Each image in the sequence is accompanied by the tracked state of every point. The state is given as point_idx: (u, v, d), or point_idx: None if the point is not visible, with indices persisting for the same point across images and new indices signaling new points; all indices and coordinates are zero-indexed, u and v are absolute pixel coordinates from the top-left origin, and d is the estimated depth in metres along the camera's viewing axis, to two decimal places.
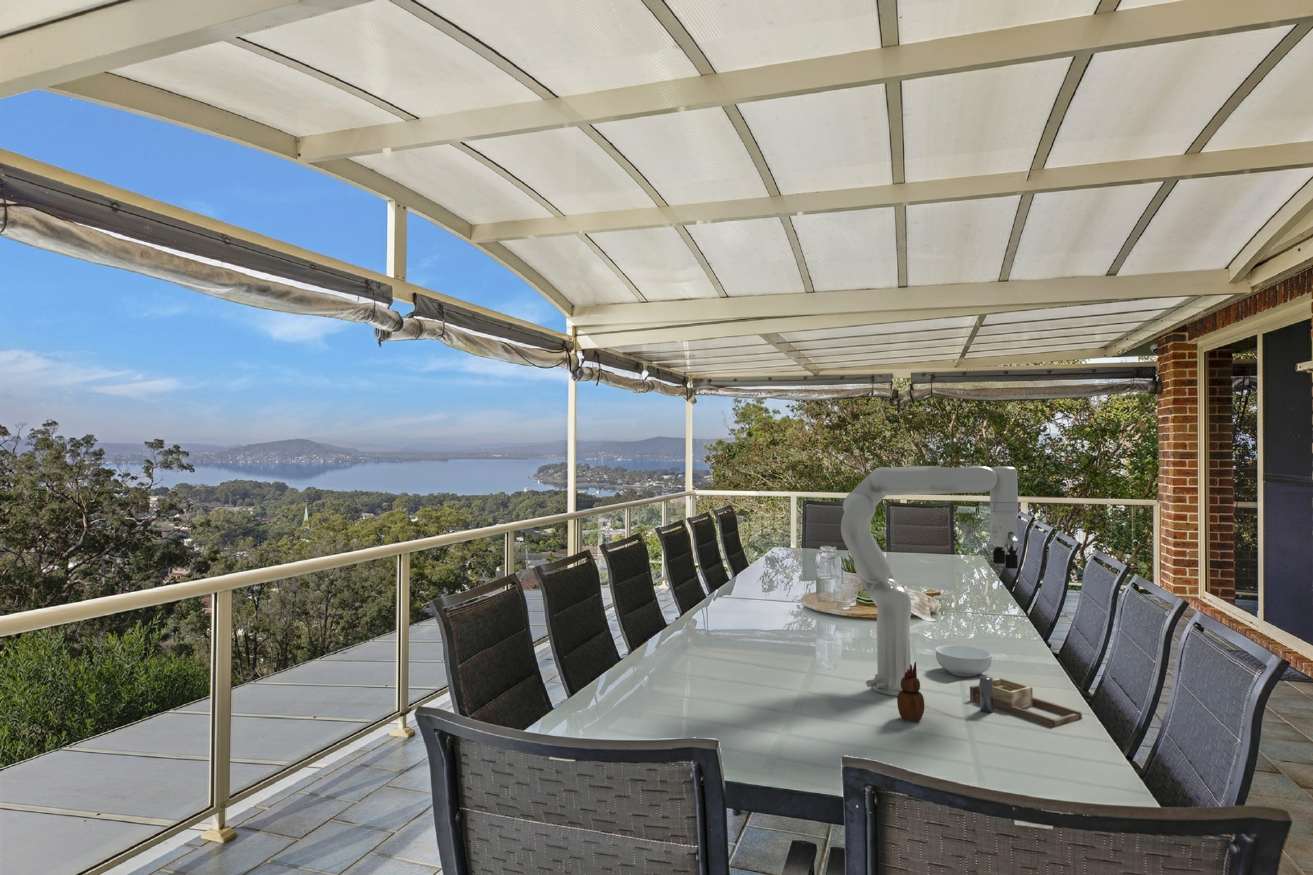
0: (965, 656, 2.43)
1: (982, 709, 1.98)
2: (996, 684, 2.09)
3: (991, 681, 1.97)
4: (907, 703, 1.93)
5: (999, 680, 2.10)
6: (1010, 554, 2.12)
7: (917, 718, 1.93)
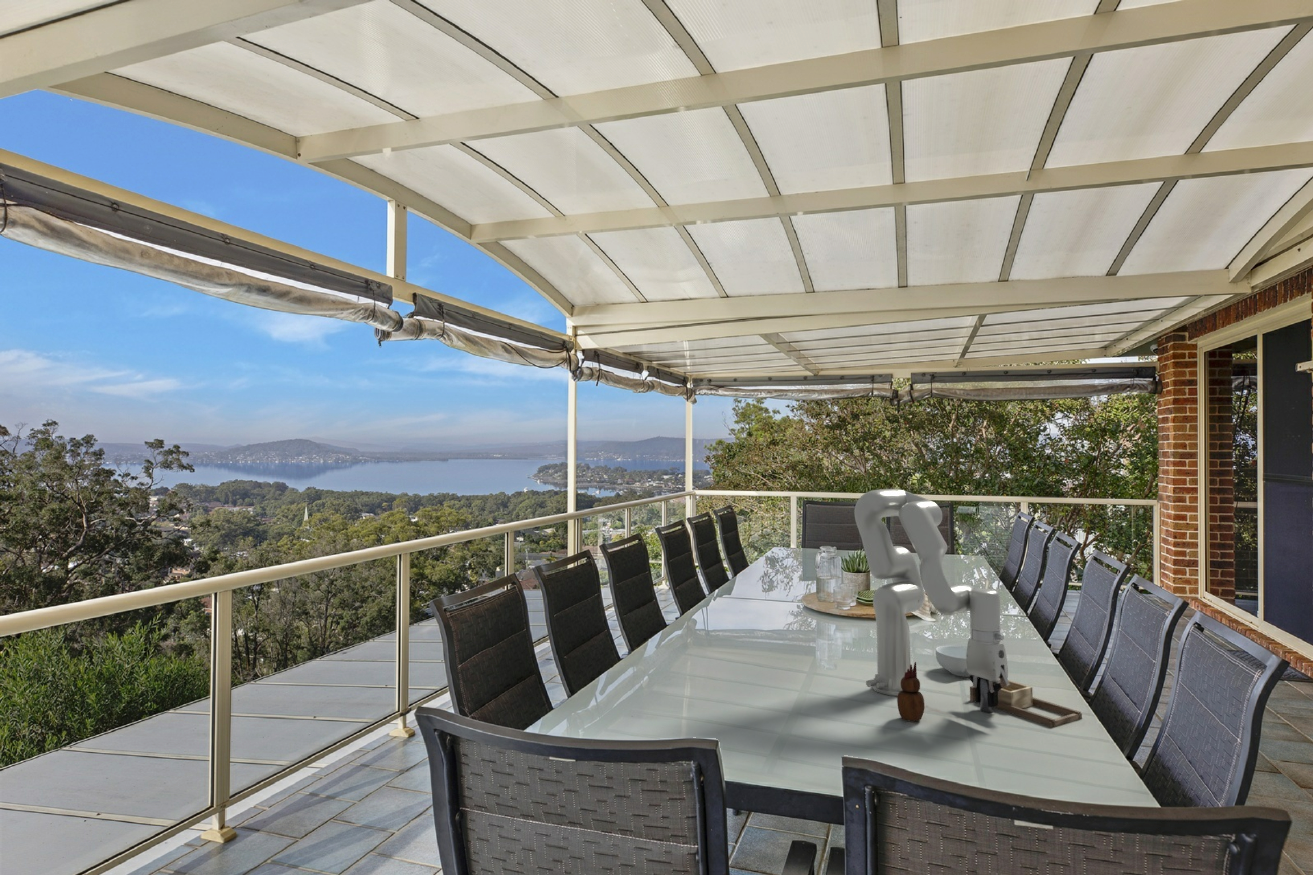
0: (965, 656, 2.43)
1: (982, 709, 1.98)
2: None
3: None
4: (907, 703, 1.93)
5: (999, 680, 2.10)
6: None
7: (917, 718, 1.93)
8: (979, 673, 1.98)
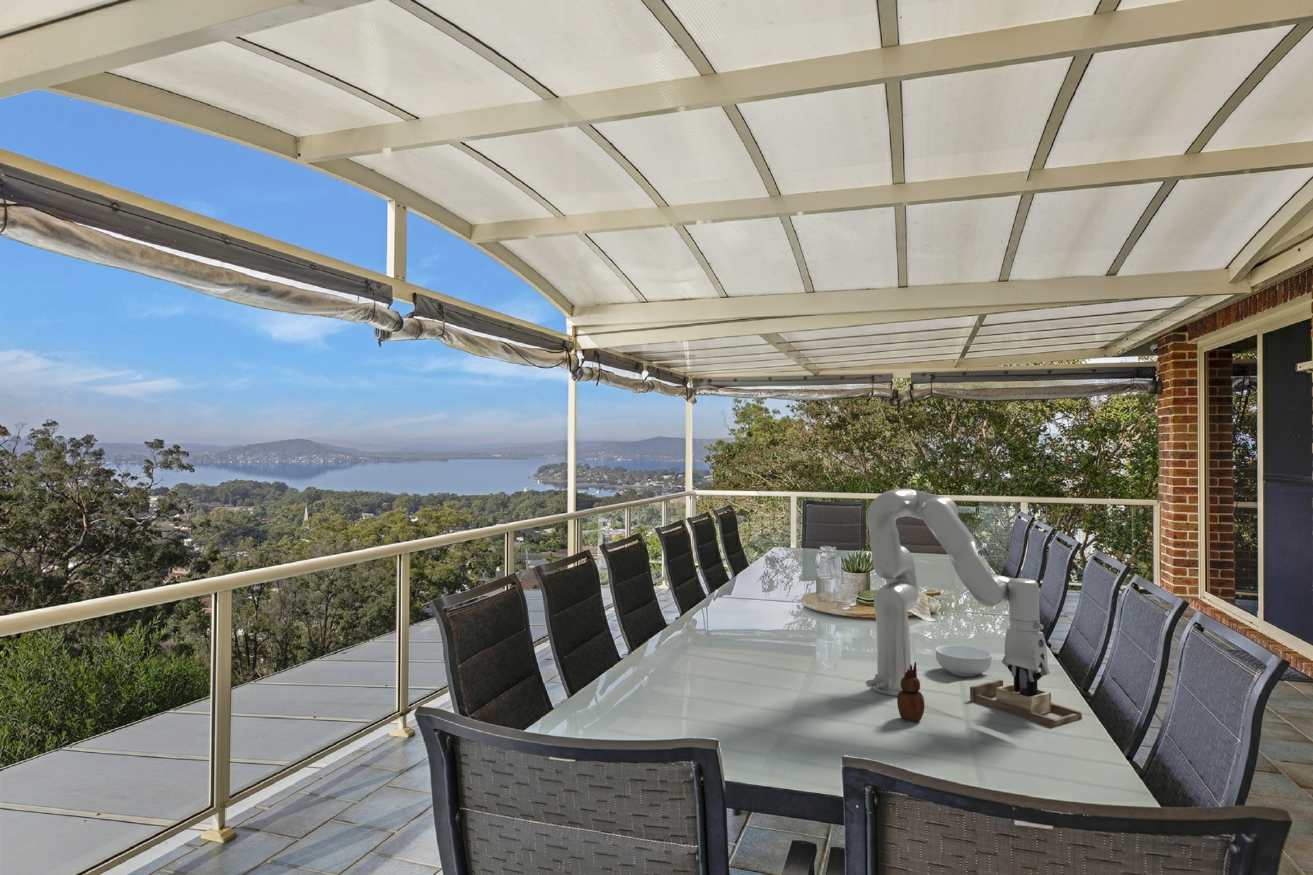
0: (965, 656, 2.43)
1: None
2: (1013, 689, 2.04)
3: None
4: (907, 703, 1.93)
5: None
6: None
7: (917, 718, 1.93)
8: (1018, 662, 1.99)
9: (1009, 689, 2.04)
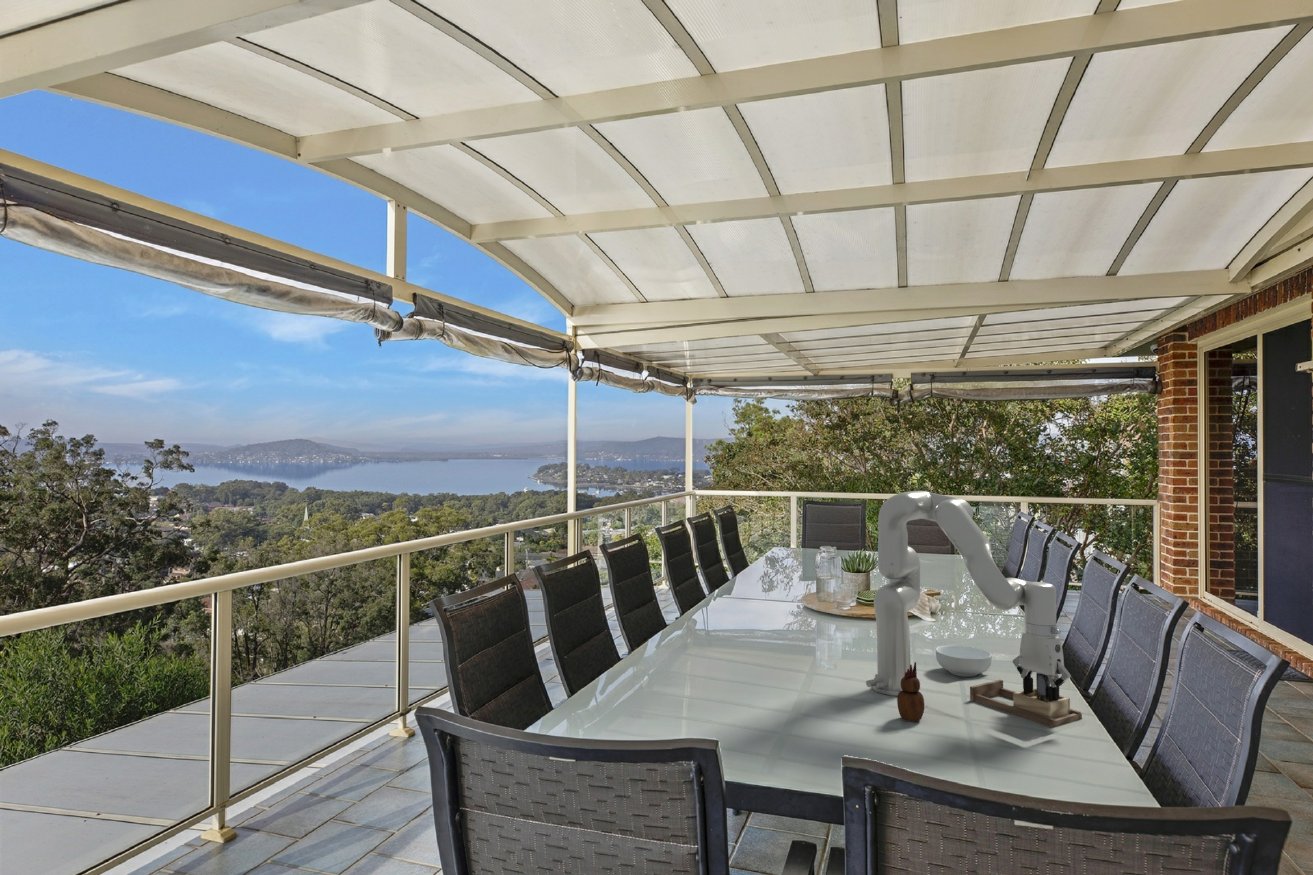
0: (965, 656, 2.43)
1: None
2: (1030, 694, 2.00)
3: None
4: (907, 703, 1.93)
5: (1033, 690, 2.01)
6: None
7: (917, 718, 1.93)
8: (1034, 667, 1.95)
9: (1026, 694, 1.99)
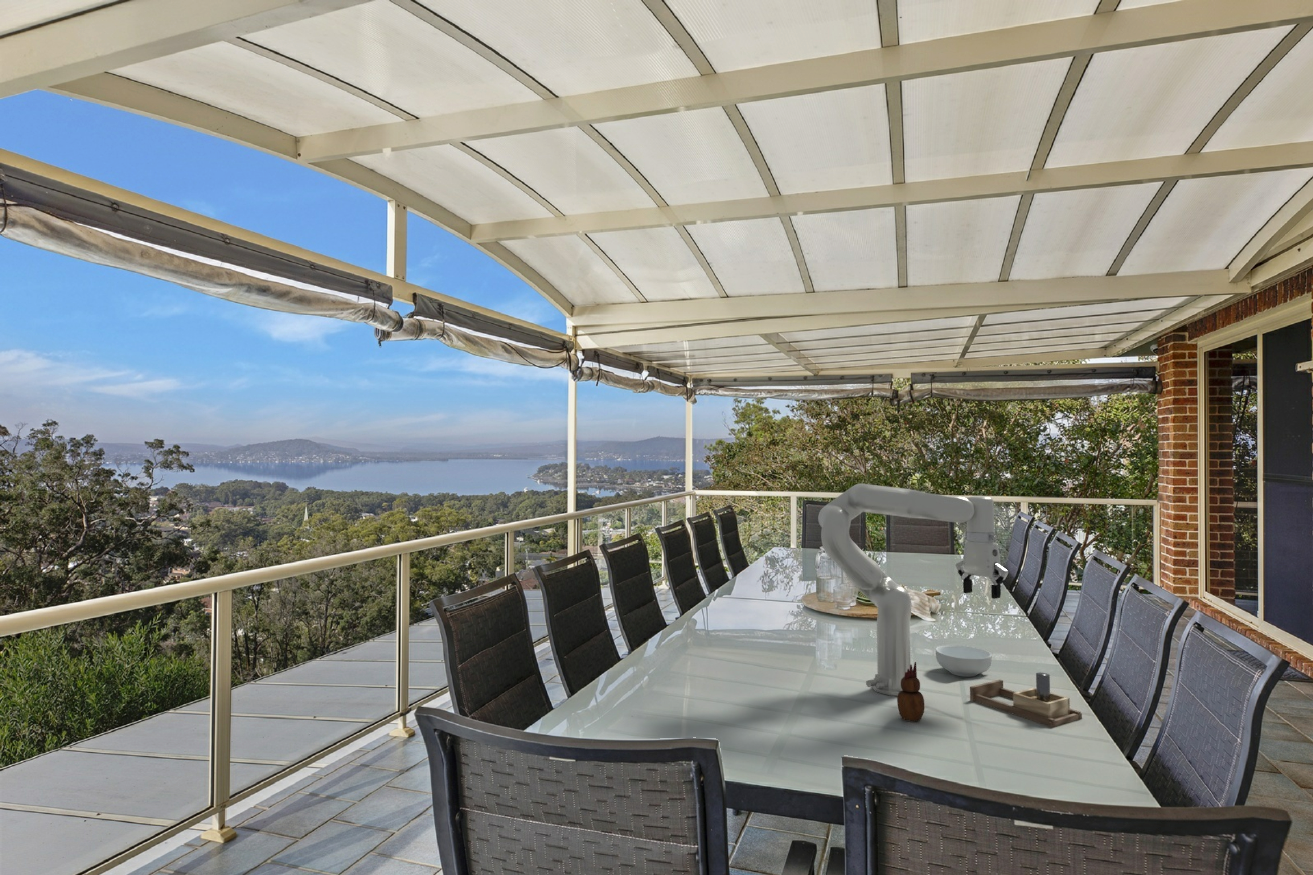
0: (965, 656, 2.43)
1: None
2: (1030, 694, 2.00)
3: (1048, 677, 1.94)
4: (907, 703, 1.93)
5: (1033, 690, 2.01)
6: None
7: (917, 718, 1.93)
8: (975, 571, 2.19)
9: (1026, 694, 1.99)
